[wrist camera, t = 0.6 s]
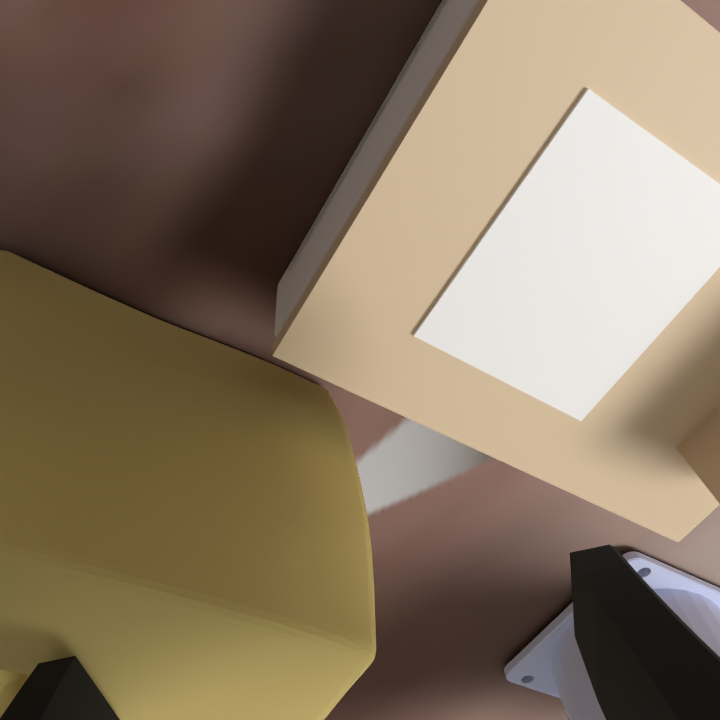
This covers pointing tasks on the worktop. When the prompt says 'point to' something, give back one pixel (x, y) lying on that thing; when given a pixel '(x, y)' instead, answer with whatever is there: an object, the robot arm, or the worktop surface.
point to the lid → (547, 257)
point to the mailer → (371, 151)
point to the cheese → (172, 515)
